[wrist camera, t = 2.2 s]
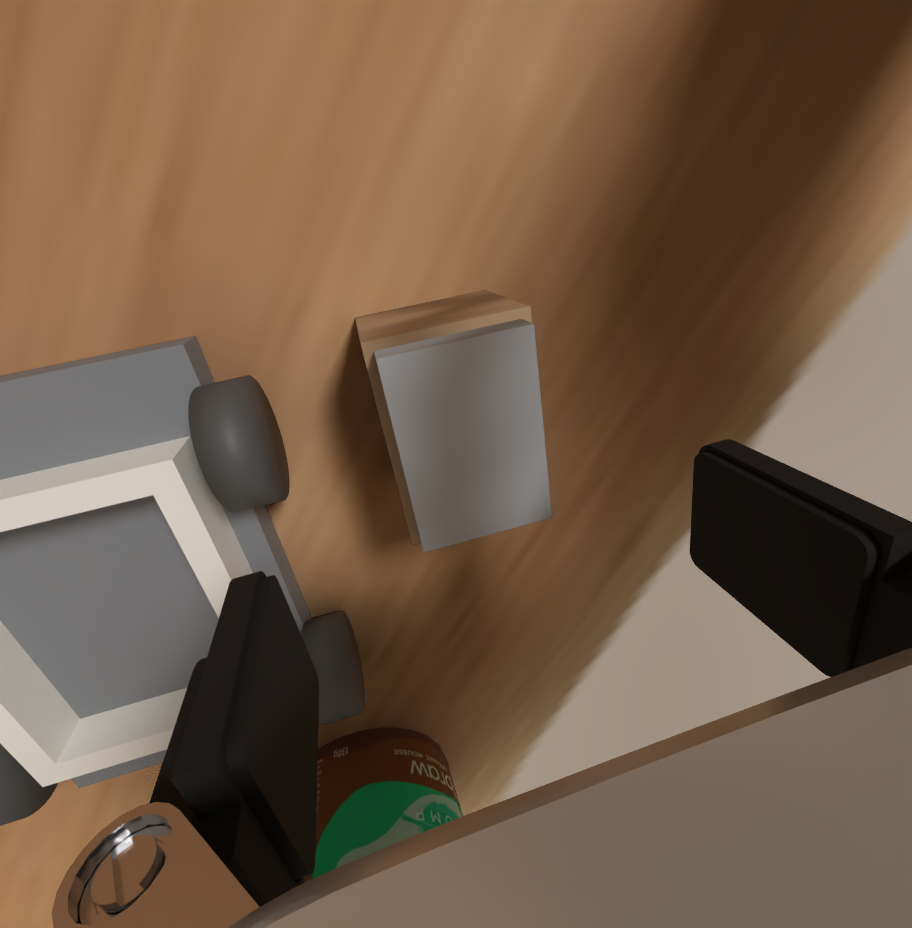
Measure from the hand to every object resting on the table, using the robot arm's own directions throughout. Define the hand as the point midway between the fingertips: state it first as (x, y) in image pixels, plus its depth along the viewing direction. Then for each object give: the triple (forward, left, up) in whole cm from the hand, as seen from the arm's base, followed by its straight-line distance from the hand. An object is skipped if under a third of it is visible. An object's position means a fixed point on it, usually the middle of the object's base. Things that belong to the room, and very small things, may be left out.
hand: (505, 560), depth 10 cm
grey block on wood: (-1, -1, -11) cm, 11 cm away
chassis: (+13, +4, -11) cm, 18 cm away
